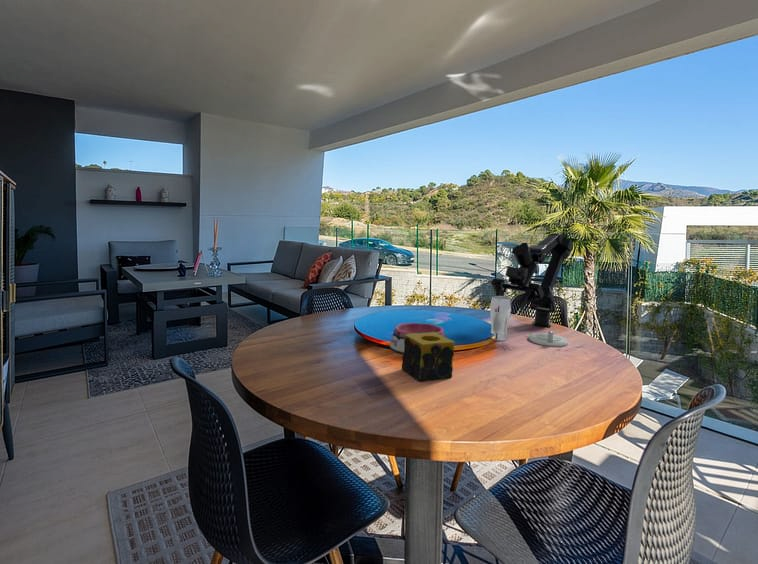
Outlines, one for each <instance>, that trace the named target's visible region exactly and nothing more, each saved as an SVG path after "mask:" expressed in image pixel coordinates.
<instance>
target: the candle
mask: <svg viewBox="0 0 758 564" xmlns="http://www.w3.org/2000/svg"><path fill="white" fill-rule="evenodd" d="M455 344H456V343H455V341H454V340H452V339H450V338H448V337H446V336H445V337H444V336H442V335H440V334H438V333H436V332H430V333H414V334H404V353H403V354H402V361H401V362H402V363H401V370H403V371H404V372H405V373H407V374H408V375H409V376H411V377H412V378H414V379H415V380H416V381H417V382H421V383H422V382H430V381H437V380H438V381H439V380H444V379H452V378H453V370H454V369H453V361H454V353H455Z"/></svg>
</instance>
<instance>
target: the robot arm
mask: <svg viewBox="0 0 758 564" xmlns="http://www.w3.org/2000/svg"><path fill="white" fill-rule="evenodd" d="M573 250H574V243H573V241H571V239H570V238H568V237H565V236H564V235H563V234H561V233H554V232H551V233H548V234H547V236H546V237H545V238H544V239H543V240H542V241H540V242H539V243H538V244H536V245H530V246H529V245H528V242H521V244H518V245H516V246H514V247H513V249H512V254H513V257H514V259H515V262H516V264H517V265H518V266H519V267H517V266H516V267H515V266H507V268H506V272H505V274H504V275H505V276H506V277H508V279H507V280H508V282H510V283H508V282H505V280H504V278H498V277H497V278H495V277H494V278H493V279H492V280H491V282H490V283H491V286H492V288H493V290H494V292H495V296H506V292H507V290H510V291H511V290H513V291H515V292H522V293H524V294H523V296H522V298H521V300H520V302H519V303H518V306H517V307H518V309H519V310H520V309H522V308H523V307H525V306H527V305H530V310H535V313H534V321H532V325H533V326H536V327H545V328H551V326H552V325H551V324H550V318H551V313H555V312H556V311H557V310H556V309H557V305H556V301H555V299H554V298H555V296H554V292H553V289H554V286H555V284H556V281H557V279H558V276H559V273H560V270H561V268H562V266H563V265H562V264H563V262H564V261H565V260H566V259H568V258H569V257H570V255H571V253H572V252H573ZM549 252H550V254H551V257H550V260H549V262H548V265H547V268H546V271H545V273H544V275H543V278H542V281H541V283H535V282H534V283H533V281H532V278H533V276H534V275H535V274H538V265H537V264H543V263H544V262H545V260H546V259H547V254H548V253H549Z"/></svg>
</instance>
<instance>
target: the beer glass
mask: <svg viewBox="0 0 758 564" xmlns="http://www.w3.org/2000/svg"><path fill="white" fill-rule="evenodd" d="M489 309H490V311H489V312H490V315H489V316H490V323H491V324H490V325H491V329H490V333H492V334H494V335H495V338H494V341H498V342H499V341H500V342H505V341H507V340H508V334H507V333H508V332H507V329H508V324H509V321H510V317H511V313H512V297H510V296H506V295H504V296H496V295H492V296H491V301H490V307H489Z"/></svg>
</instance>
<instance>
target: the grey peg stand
mask: <svg viewBox="0 0 758 564" xmlns="http://www.w3.org/2000/svg"><path fill="white" fill-rule="evenodd" d="M528 340H529V341H530V342H531V343H534V344H538V345H542V346H546V347H559V348H560V347H566V346H568V345H569V339H568V338H566V337H564V336H561V335H558V334H554V331H548V333H545V332H544V333H543V332H542V333H541V332H535V333H533V332H532V333H529V335H528Z"/></svg>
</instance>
